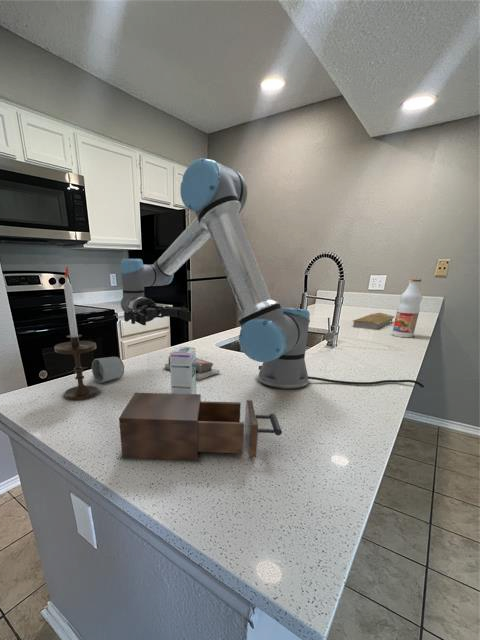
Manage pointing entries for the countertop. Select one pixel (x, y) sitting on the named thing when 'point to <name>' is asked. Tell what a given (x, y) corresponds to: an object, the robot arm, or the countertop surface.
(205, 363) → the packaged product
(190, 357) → the syrup box
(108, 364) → the light blue cylinder
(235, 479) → the countertop surface
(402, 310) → the fruit juice
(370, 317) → the brown flat block
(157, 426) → the cabinet
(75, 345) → the candlestick
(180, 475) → the countertop surface
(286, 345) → the robot arm
